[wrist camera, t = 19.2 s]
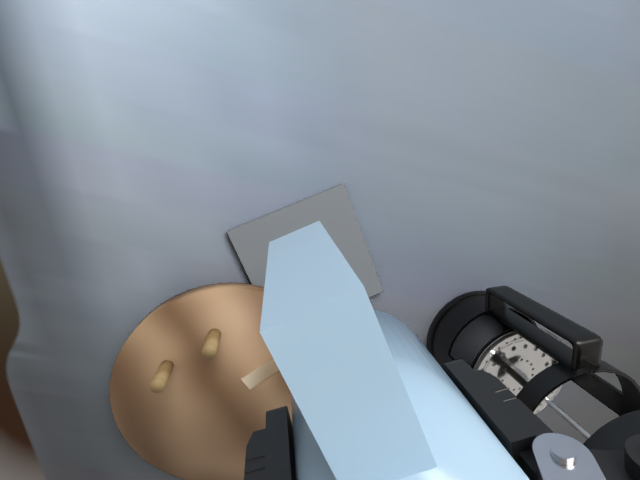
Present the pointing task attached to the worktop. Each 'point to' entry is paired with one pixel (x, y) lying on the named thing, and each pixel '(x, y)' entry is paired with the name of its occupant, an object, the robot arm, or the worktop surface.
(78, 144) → the worktop surface
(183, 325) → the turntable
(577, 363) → the french press
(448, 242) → the worktop surface
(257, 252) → the slate mat
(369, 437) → the pale blue carafe
